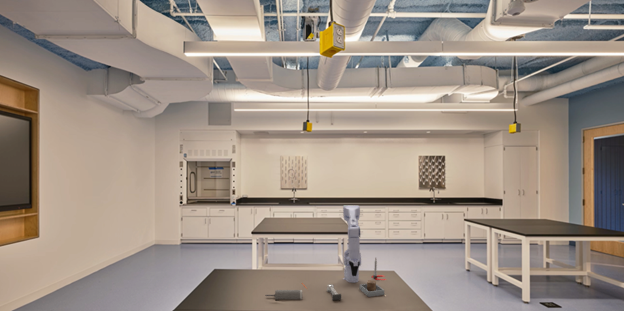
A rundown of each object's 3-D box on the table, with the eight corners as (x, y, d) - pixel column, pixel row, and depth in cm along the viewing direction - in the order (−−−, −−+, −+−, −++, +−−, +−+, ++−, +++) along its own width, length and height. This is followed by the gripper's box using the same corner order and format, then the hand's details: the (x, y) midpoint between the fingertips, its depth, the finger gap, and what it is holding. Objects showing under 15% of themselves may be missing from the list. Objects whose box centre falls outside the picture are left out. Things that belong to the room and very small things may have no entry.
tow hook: (384, 276, 208) (370, 277, 205) (384, 255, 208) (371, 256, 205) (391, 281, 200) (377, 282, 197) (392, 259, 200) (378, 259, 197)
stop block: (367, 292, 179) (367, 282, 179) (368, 289, 182) (368, 280, 182) (374, 293, 177) (374, 283, 177) (376, 290, 181) (375, 280, 181)
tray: (359, 289, 184) (359, 284, 184) (374, 287, 186) (374, 282, 187) (368, 297, 173) (368, 292, 174) (384, 295, 176) (384, 290, 176)
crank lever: (325, 290, 183) (325, 284, 183) (333, 289, 183) (333, 283, 183) (332, 301, 168) (332, 294, 168) (341, 300, 169) (341, 294, 169)
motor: (309, 301, 170) (309, 291, 171) (264, 301, 170) (264, 291, 171) (309, 291, 193) (309, 282, 194) (270, 291, 193) (270, 282, 194)
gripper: (345, 246, 188) (345, 271, 188) (347, 253, 174) (347, 280, 174) (358, 246, 188) (358, 271, 188) (361, 253, 174) (361, 280, 174)
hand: (354, 275), depth 181 cm, fingers closed
